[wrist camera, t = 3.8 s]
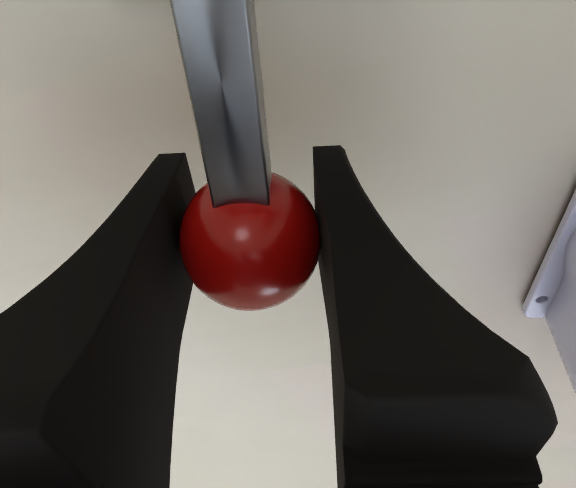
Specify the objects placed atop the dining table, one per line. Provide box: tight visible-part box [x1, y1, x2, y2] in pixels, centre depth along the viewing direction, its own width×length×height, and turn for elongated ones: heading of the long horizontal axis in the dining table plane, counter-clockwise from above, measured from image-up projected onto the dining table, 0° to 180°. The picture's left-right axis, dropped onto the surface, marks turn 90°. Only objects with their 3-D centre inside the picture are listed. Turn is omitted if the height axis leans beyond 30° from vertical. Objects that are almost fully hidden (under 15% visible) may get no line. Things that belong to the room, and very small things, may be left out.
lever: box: [170, 0, 321, 311], centre depth 8 cm, size 12×3×3 cm, turn 3°
